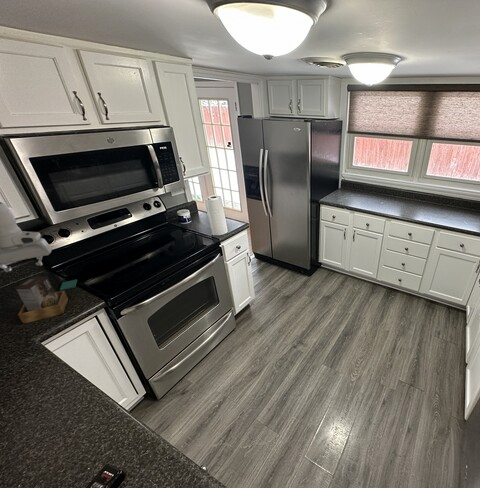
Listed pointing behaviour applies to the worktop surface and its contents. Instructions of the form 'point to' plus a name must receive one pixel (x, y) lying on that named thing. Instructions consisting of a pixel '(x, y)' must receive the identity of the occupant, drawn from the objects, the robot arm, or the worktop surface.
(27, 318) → the holder
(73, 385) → the worktop surface
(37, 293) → the coffee box
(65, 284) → the mat
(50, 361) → the worktop surface
